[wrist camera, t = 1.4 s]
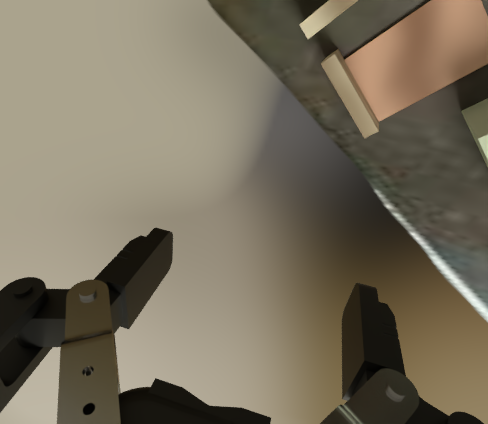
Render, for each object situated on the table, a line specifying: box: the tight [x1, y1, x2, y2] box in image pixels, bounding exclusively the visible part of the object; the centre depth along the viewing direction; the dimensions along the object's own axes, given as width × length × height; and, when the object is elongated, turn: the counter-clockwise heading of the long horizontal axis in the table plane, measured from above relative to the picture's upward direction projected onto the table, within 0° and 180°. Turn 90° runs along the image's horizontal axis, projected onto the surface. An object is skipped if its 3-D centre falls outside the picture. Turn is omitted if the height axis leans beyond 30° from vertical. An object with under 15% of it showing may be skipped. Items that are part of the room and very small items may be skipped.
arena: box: [300, 0, 488, 138], centre depth 23 cm, size 10×10×2 cm
